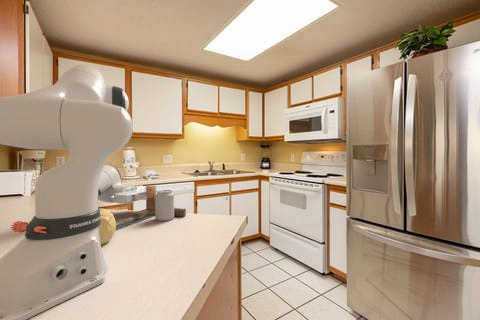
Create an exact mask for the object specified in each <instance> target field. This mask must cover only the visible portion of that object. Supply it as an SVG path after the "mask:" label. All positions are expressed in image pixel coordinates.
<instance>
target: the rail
mask: <svg viewBox="0 0 480 320" xmlns="http://www.w3.org/2000/svg"><path fill="white" fill-rule="evenodd" d="M153 217H155V213H154V214H151V215H148V216H146V217H143V218H140V219H136V218H133V219H130V220H127V221H123V222H121V223H118V224H116V230H115V232H116V231H118V230H121V229H124V228H127V227H129V226H132V225H134V224H137V223H140V222H143V221H145V220H148V219H150V218H153Z"/></svg>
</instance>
